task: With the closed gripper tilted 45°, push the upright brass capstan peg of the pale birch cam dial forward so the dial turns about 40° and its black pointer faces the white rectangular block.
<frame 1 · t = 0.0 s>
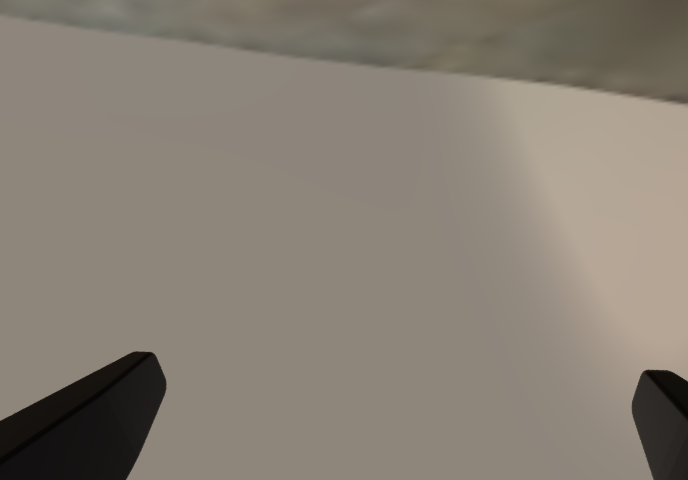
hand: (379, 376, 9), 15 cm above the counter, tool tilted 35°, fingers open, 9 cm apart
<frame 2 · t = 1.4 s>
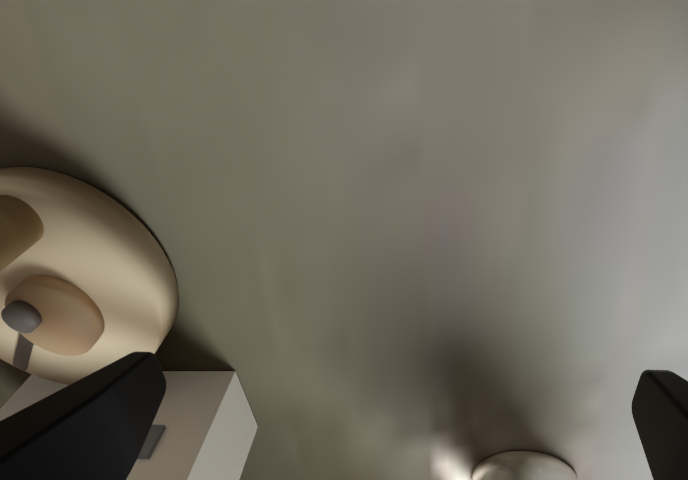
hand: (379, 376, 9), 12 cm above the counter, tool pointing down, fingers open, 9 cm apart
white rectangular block: (145, 398, 31), on the counter
beer glass: (522, 477, 30), on the counter
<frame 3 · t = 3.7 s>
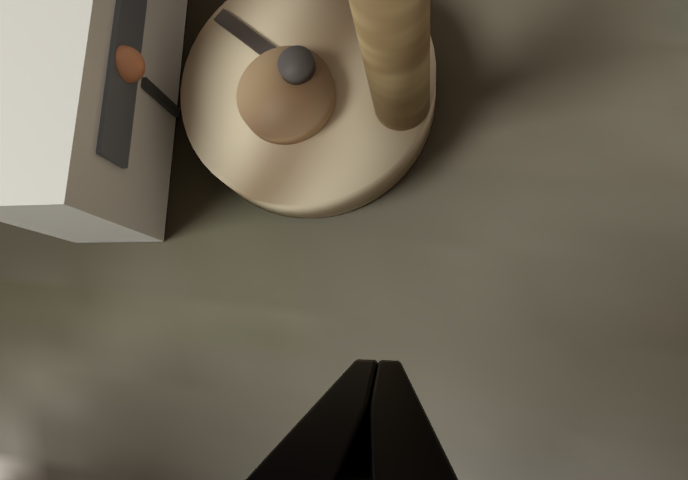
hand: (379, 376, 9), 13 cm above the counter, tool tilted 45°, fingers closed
cam dial: (281, 34, 19), point 6 cm above the counter, hinge at -40.0°
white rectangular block: (133, 116, 27), on the counter
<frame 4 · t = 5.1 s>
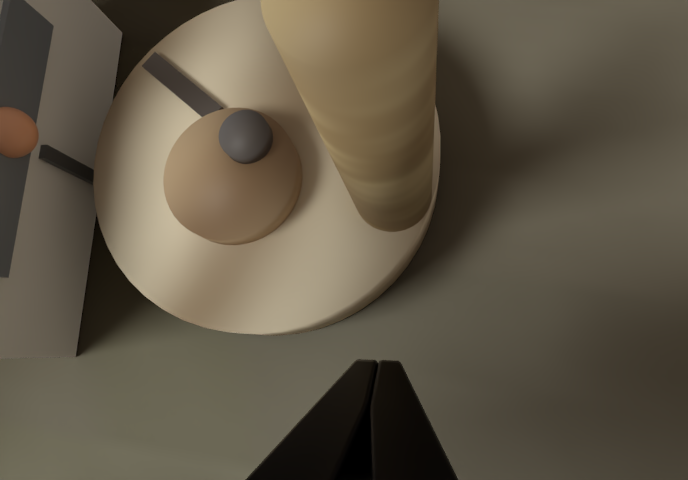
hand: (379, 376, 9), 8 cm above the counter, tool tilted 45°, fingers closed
cam dial: (216, 102, 13), point 6 cm above the counter, hinge at -40.0°
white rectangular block: (47, 184, 20), on the counter
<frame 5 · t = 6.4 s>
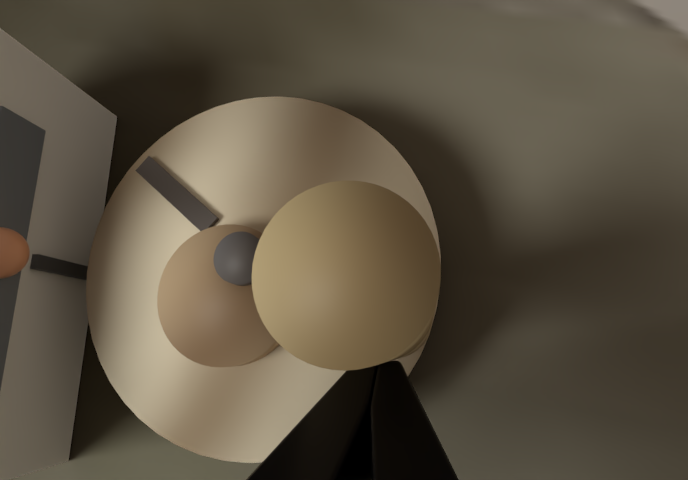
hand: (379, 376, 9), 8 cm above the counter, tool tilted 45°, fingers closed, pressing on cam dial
cam dial: (211, 243, 13), point 6 cm above the counter, hinge at -39.8°, touching gripper
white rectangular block: (40, 275, 20), on the counter
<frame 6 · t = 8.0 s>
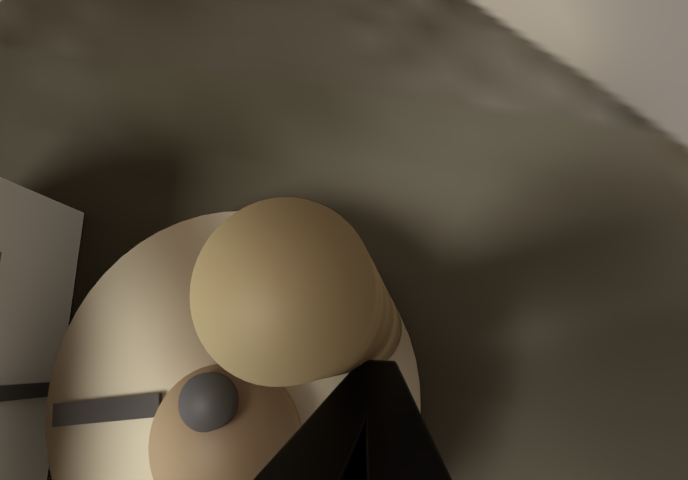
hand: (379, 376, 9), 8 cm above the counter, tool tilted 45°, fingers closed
cam dial: (170, 409, 12), point 6 cm above the counter, hinge at 6.4°, touching gripper
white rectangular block: (2, 386, 19), on the counter
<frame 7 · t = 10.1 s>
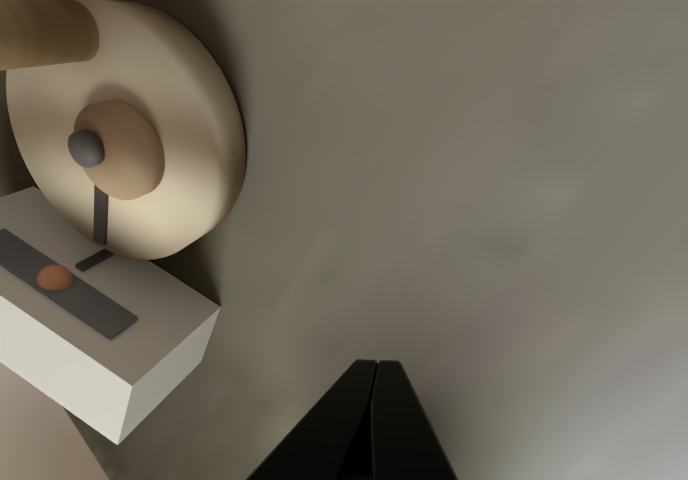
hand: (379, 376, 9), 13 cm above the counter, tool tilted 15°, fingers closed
cam dial: (42, 162, 20), point 6 cm above the counter, hinge at 6.5°
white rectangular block: (118, 275, 30), on the counter
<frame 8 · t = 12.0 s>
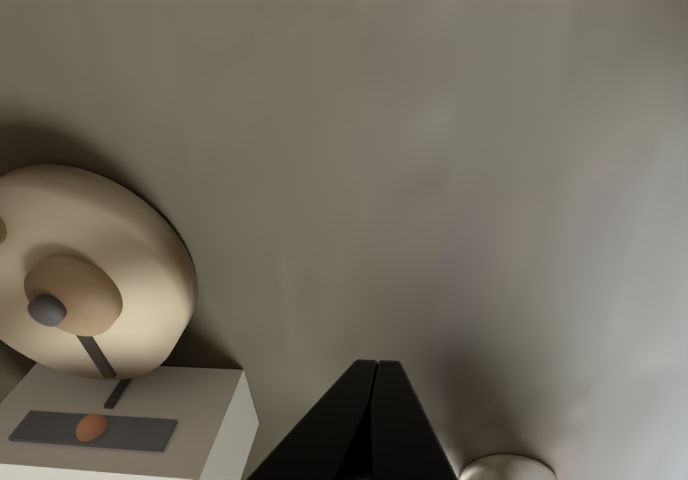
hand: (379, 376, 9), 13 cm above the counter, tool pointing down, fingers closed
cam dial: (15, 343, 21), point 6 cm above the counter, hinge at 6.5°
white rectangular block: (149, 392, 32), on the counter
beer glass: (506, 478, 32), on the counter
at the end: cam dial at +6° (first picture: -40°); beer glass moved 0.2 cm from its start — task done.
